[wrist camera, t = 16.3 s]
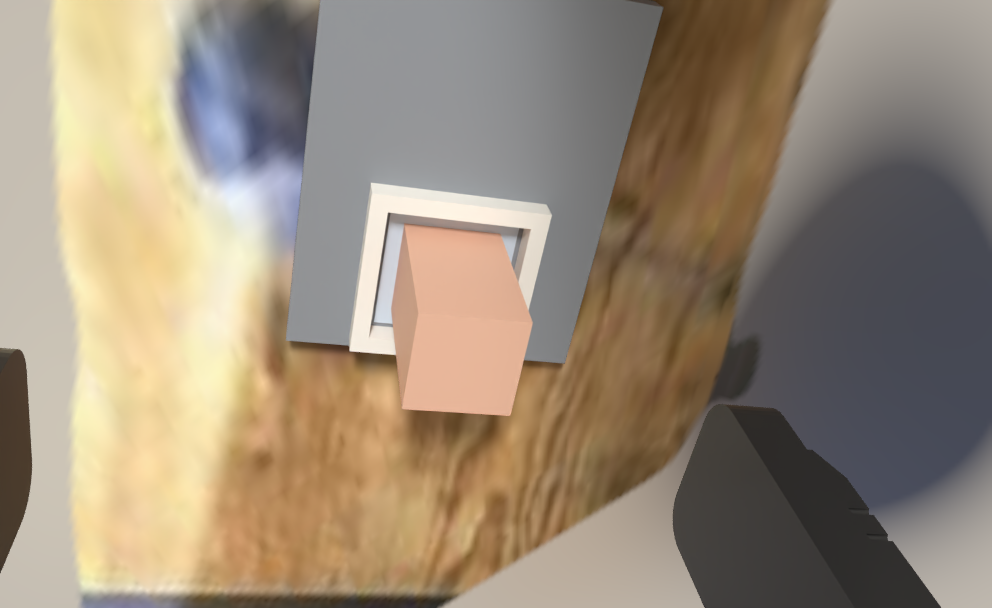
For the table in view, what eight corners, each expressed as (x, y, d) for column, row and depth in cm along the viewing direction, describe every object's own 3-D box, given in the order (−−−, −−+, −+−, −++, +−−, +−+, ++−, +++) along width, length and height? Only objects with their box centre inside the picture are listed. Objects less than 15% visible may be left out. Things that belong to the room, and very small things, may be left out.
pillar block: (404, 223, 41) (418, 313, 34) (500, 233, 42) (532, 322, 35) (391, 308, 43) (401, 409, 36) (482, 316, 44) (510, 415, 37)
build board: (326, -60, 36) (325, -50, 34) (654, 1, 39) (672, 13, 37) (287, 327, 44) (284, 353, 42) (559, 350, 47) (569, 376, 45)
